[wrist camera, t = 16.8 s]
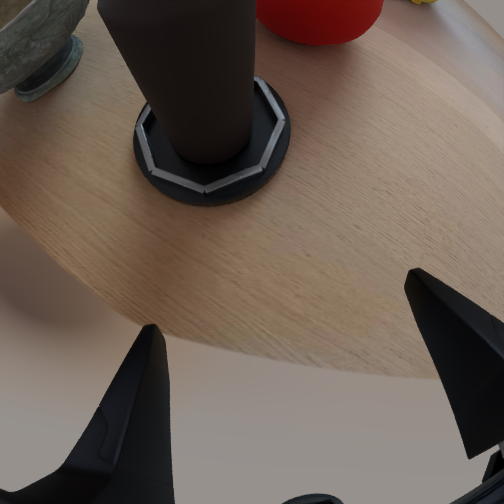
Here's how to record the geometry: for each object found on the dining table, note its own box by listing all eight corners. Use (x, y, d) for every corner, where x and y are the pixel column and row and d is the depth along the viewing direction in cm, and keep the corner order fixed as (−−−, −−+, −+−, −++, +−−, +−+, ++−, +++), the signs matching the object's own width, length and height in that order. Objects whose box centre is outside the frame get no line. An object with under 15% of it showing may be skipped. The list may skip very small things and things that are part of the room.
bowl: (90, 131, 24) (-2, 38, 9) (-23, 145, 24) (-99, 101, 9) (146, 0, 26) (116, -88, 11) (33, 28, 26) (-12, -29, 11)
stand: (314, 171, 24) (320, 162, 22) (163, 232, 23) (155, 228, 21) (252, 58, 25) (253, 44, 23) (123, 107, 24) (115, 95, 22)
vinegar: (183, 179, 23) (41, -52, 3) (159, 112, 23) (61, -90, 3) (266, 148, 23) (300, -115, 3) (235, 84, 23) (222, -136, 3)
